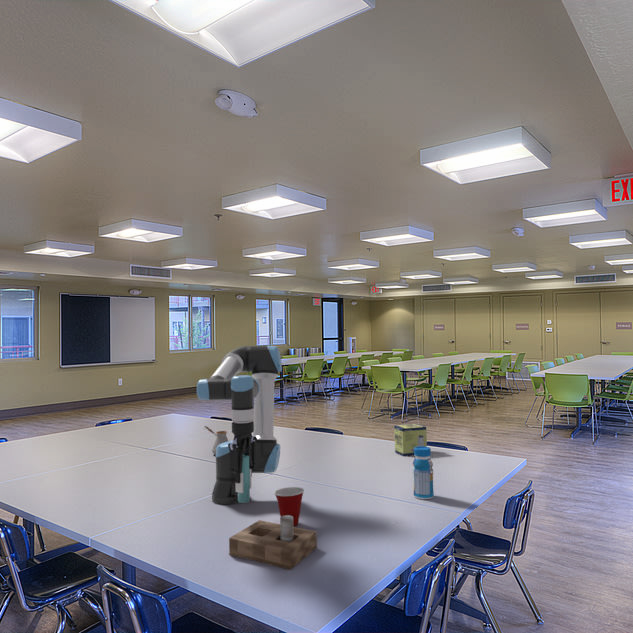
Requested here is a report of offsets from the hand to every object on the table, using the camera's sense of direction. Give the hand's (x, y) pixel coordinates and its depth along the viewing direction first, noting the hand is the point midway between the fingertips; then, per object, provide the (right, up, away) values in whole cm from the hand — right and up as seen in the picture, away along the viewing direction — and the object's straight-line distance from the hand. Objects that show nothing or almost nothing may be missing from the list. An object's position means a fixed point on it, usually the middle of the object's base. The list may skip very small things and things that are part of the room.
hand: (243, 489), depth 161 cm
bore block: (+12, -14, -14) cm, 23 cm away
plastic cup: (+15, -15, +8) cm, 23 cm away
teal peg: (0, -4, 0) cm, 4 cm away
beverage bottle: (+69, -16, +34) cm, 79 cm away
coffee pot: (-34, -22, +118) cm, 125 cm away
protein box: (+79, -19, +110) cm, 137 cm away
